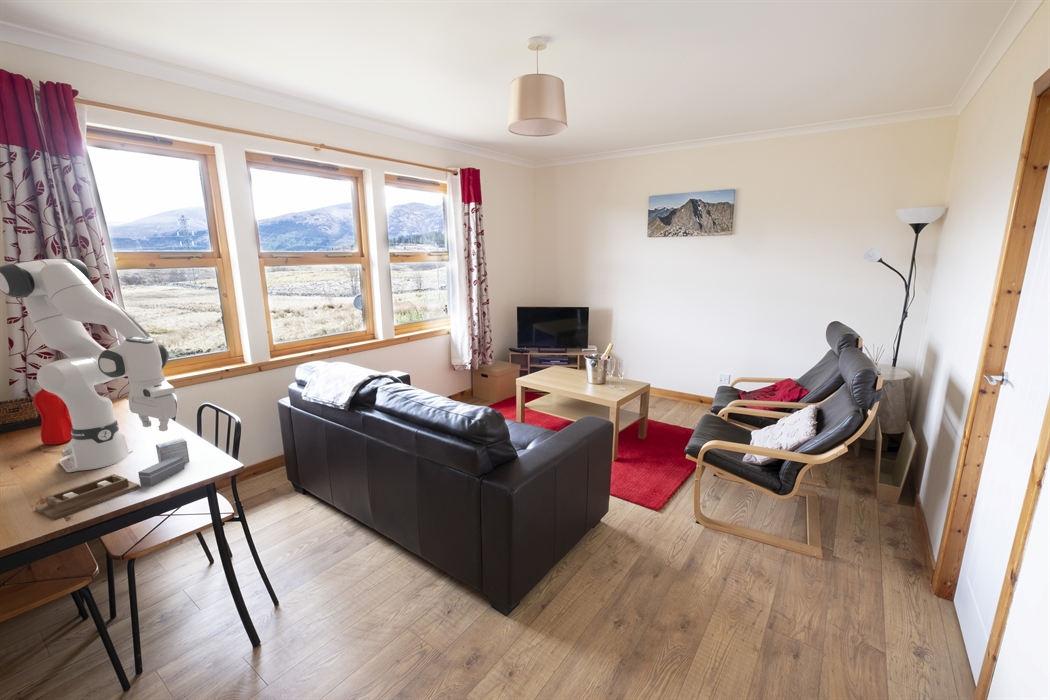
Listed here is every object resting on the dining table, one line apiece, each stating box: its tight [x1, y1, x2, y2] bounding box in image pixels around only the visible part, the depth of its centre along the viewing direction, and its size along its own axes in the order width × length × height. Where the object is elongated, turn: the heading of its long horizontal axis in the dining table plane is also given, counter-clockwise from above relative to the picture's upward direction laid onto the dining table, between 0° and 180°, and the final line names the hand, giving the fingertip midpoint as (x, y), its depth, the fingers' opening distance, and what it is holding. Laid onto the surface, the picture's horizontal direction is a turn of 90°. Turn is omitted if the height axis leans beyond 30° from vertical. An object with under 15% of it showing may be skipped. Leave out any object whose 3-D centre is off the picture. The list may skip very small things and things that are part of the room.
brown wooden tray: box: [34, 473, 141, 520], centre depth 136 cm, size 12×20×4 cm, turn 155°
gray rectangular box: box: [138, 457, 186, 488], centre depth 149 cm, size 4×12×5 cm, turn 171°
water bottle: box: [33, 387, 73, 446], centre depth 180 cm, size 9×11×25 cm
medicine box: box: [155, 438, 190, 464], centre depth 158 cm, size 8×4×9 cm, turn 141°
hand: (155, 428), depth 146 cm, fingers open, 8 cm apart
